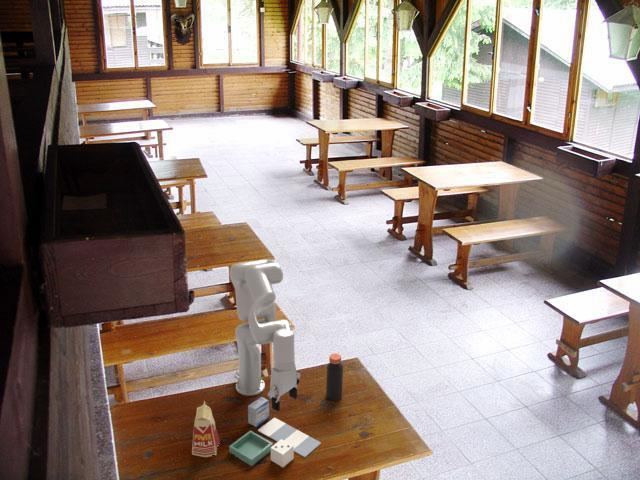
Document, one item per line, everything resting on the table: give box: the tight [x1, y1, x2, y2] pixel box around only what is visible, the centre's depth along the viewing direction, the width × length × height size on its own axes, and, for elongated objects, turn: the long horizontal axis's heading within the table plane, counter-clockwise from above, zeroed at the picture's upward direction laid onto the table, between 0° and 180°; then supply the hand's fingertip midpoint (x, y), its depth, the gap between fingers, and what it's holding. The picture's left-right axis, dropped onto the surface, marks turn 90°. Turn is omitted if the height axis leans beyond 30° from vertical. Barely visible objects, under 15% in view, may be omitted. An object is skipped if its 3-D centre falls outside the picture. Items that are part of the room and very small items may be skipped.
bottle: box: [325, 353, 344, 402], centre depth 270 cm, size 7×7×20 cm
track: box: [257, 417, 322, 458], centre depth 249 cm, size 24×10×1 cm, turn 52°
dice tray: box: [228, 430, 274, 467], centre depth 241 cm, size 12×12×3 cm
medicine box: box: [247, 396, 270, 428], centre depth 257 cm, size 8×4×9 cm, turn 143°
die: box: [270, 439, 295, 468], centre depth 237 cm, size 6×6×6 cm
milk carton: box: [191, 400, 221, 458], centre depth 238 cm, size 9×9×20 cm
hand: (284, 403), depth 233 cm, fingers open, 9 cm apart
